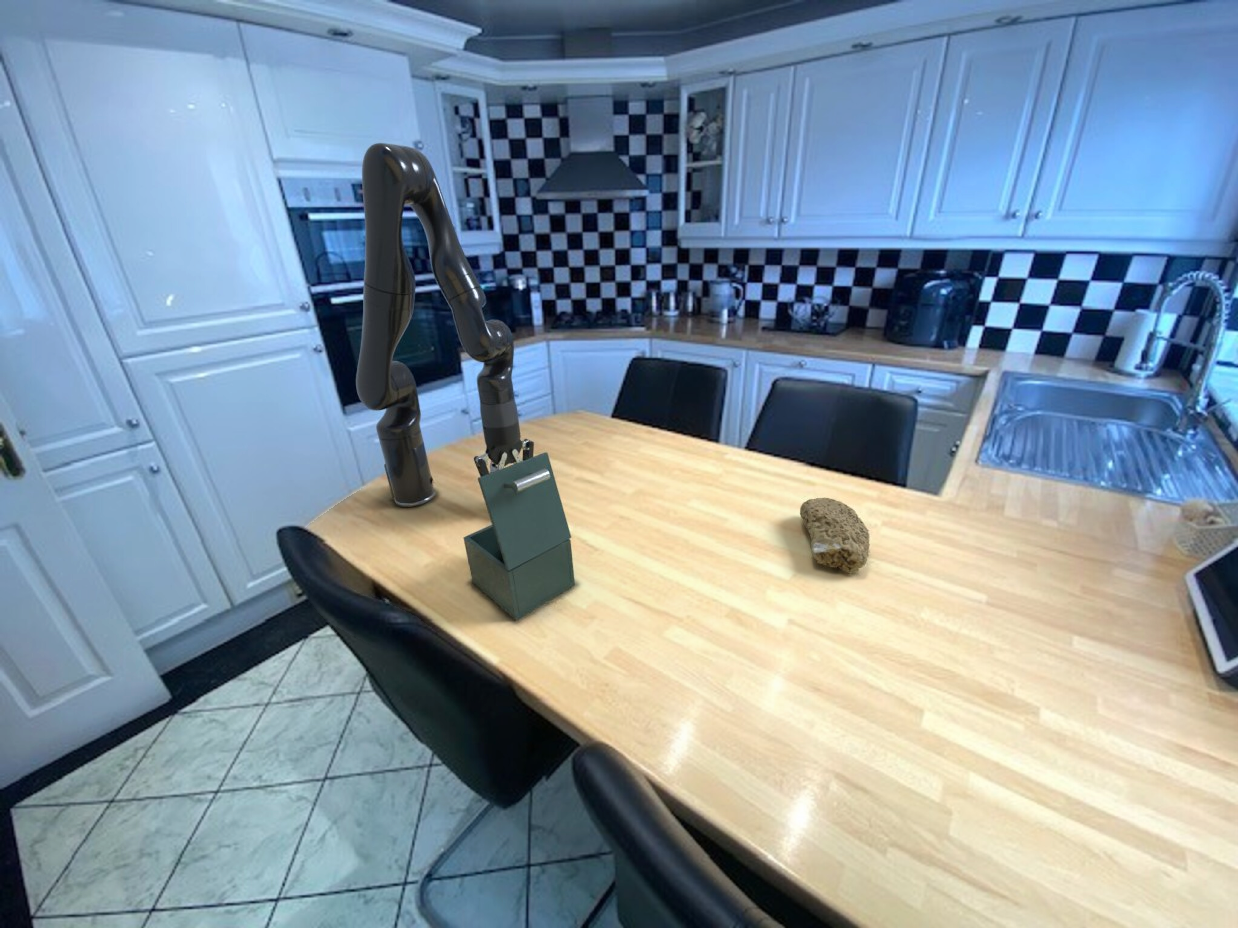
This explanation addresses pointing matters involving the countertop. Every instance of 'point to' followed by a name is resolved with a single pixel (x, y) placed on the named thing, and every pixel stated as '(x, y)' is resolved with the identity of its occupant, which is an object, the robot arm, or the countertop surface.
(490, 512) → the bin lid
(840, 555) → the sponge
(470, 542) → the bin
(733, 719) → the countertop surface
